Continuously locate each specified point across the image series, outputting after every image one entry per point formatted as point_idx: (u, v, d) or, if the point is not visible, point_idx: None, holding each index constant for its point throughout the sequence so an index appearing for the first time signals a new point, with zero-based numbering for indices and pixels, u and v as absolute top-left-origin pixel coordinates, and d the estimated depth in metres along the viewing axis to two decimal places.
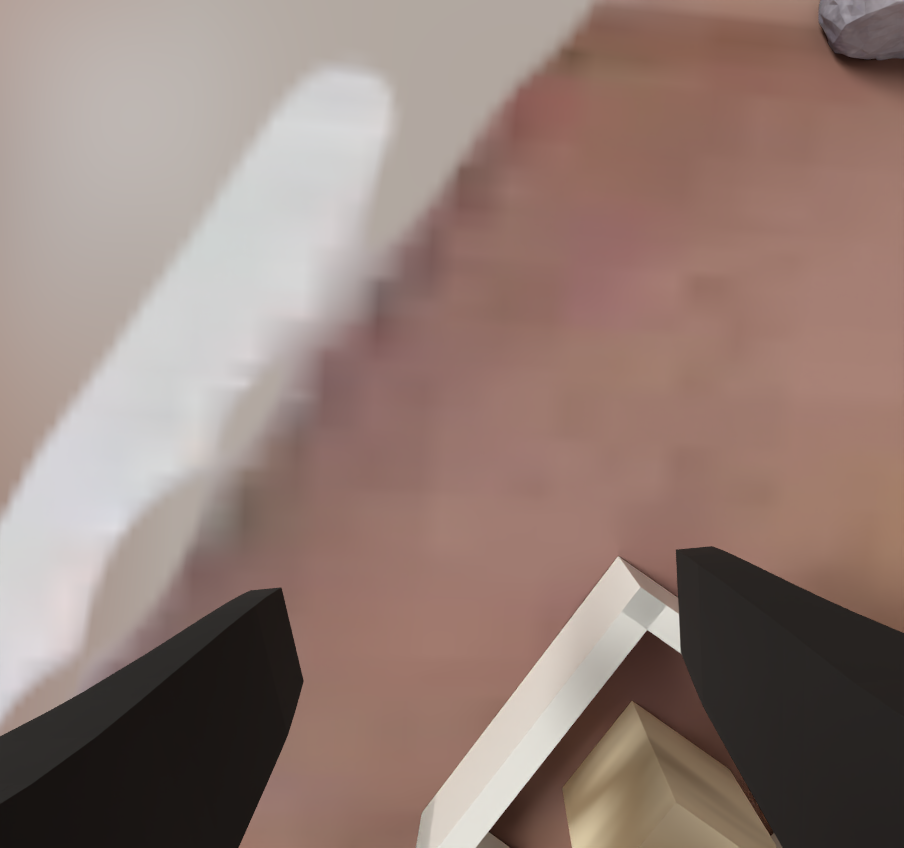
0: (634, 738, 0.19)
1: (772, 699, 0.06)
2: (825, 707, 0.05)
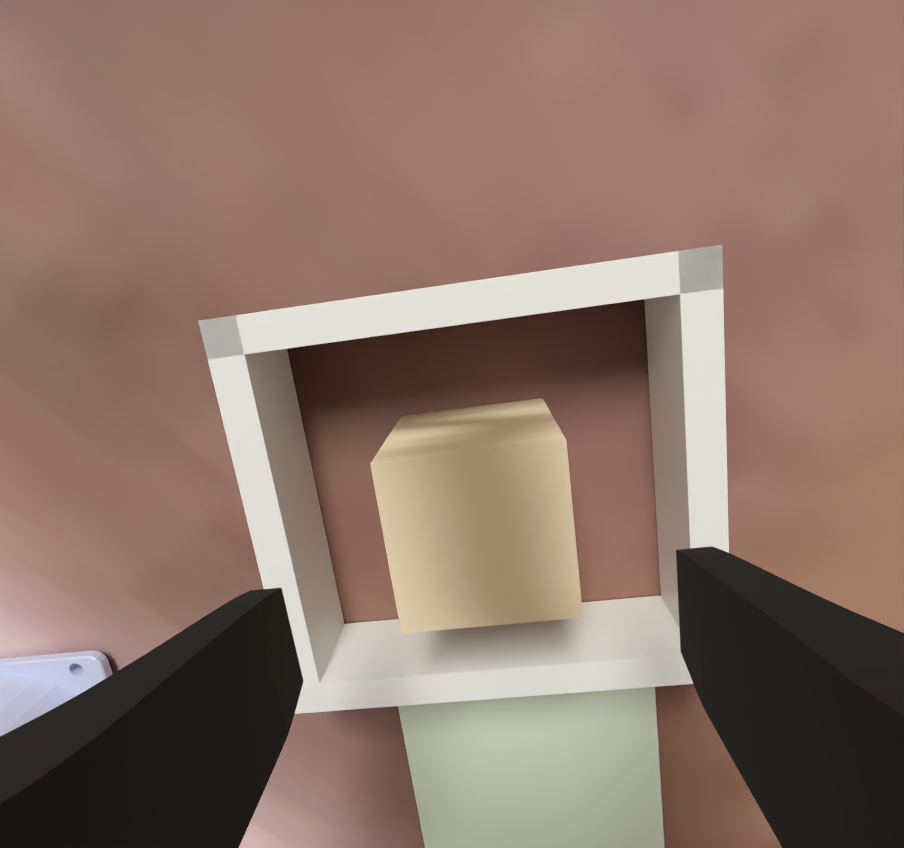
0: (529, 411, 0.15)
1: (772, 700, 0.06)
2: (825, 707, 0.05)
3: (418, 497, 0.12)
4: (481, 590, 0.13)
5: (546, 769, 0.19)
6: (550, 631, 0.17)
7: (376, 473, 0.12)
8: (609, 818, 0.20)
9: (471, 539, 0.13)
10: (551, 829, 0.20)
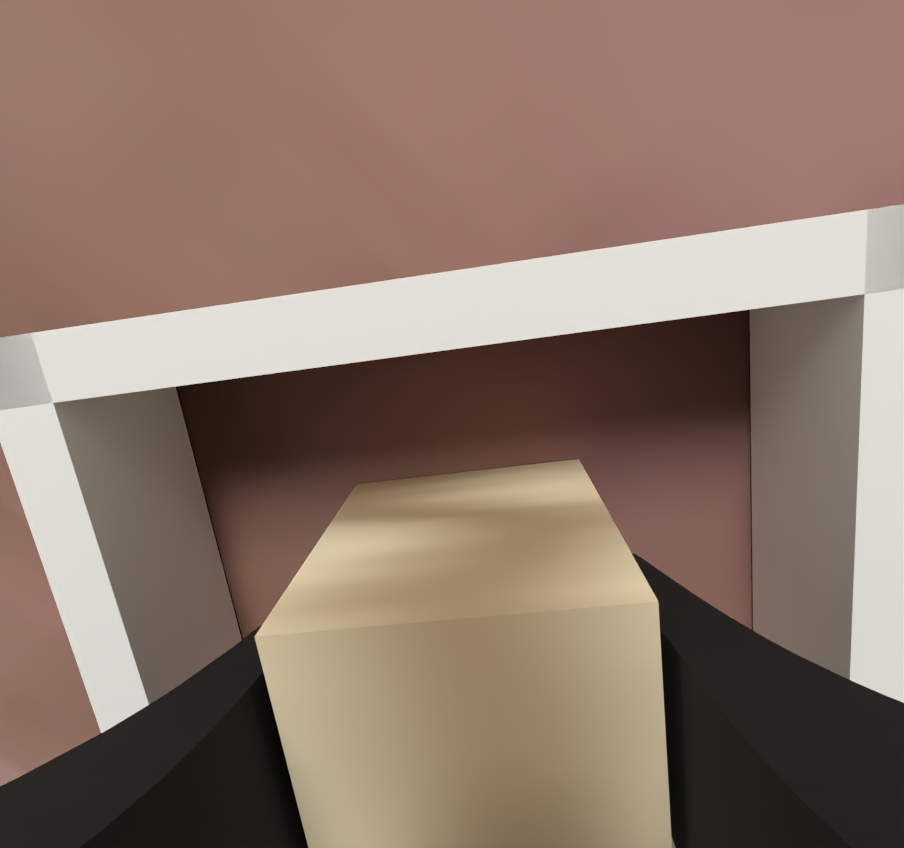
0: (563, 492, 0.09)
1: None
2: (694, 716, 0.06)
3: (353, 700, 0.06)
4: None
5: None
6: None
7: (267, 655, 0.06)
8: None
9: (461, 778, 0.06)
10: None
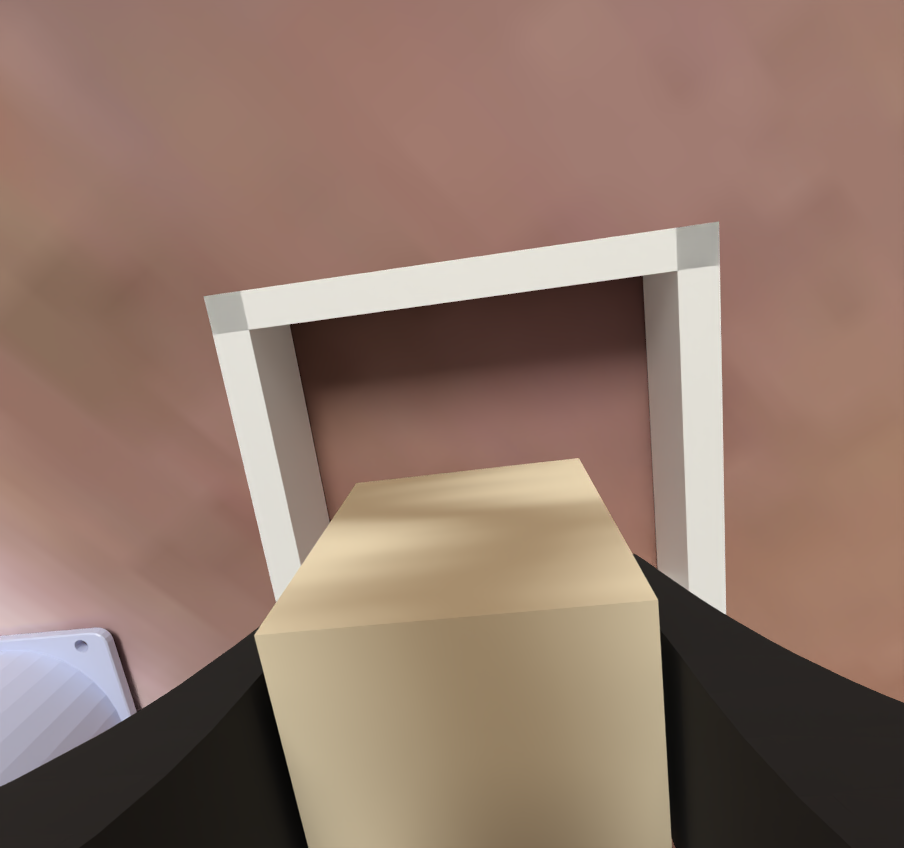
0: (563, 491, 0.09)
1: None
2: (693, 716, 0.06)
3: (353, 698, 0.06)
4: None
5: None
6: None
7: (267, 654, 0.06)
8: None
9: (461, 777, 0.06)
10: None
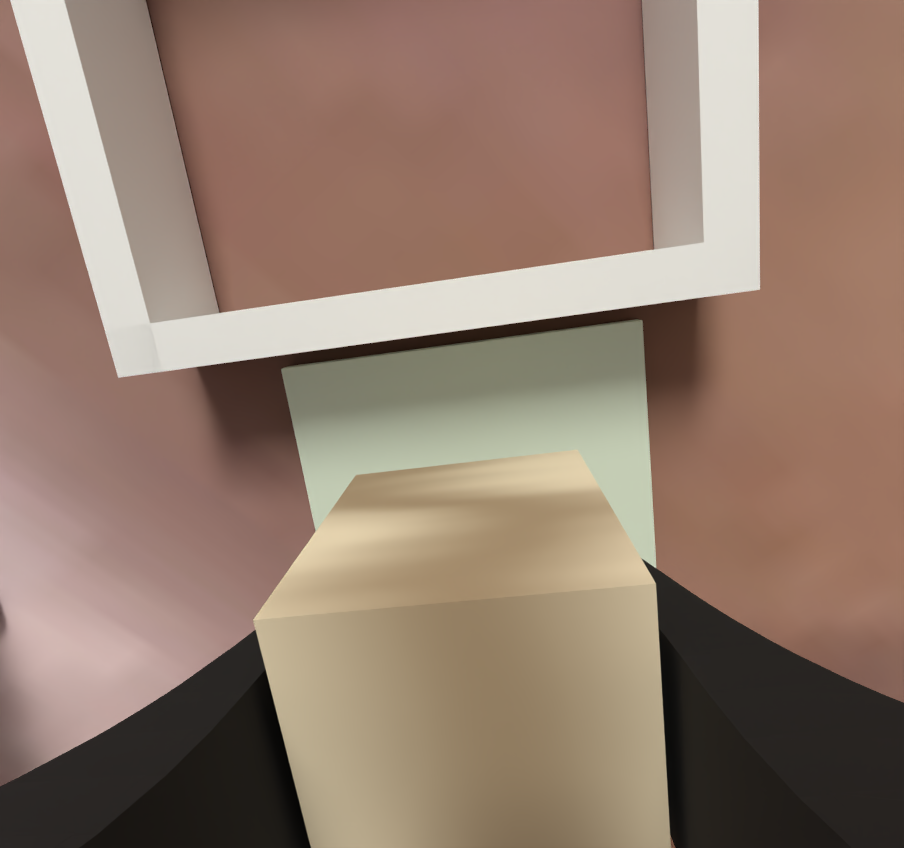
0: (562, 480, 0.09)
1: (663, 707, 0.07)
2: (693, 716, 0.06)
3: (351, 684, 0.06)
4: None
5: None
6: None
7: (266, 639, 0.06)
8: None
9: (459, 761, 0.06)
10: None
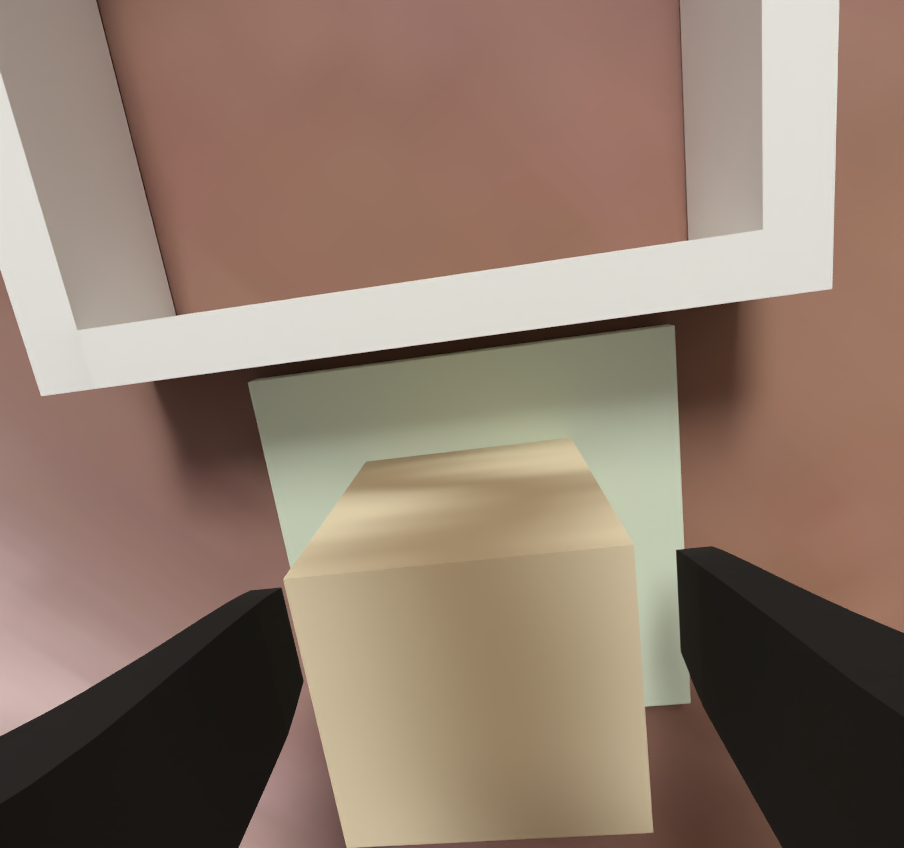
0: (555, 464, 0.10)
1: (772, 698, 0.06)
2: (825, 707, 0.05)
3: (368, 635, 0.07)
4: (480, 786, 0.08)
5: None
6: None
7: (294, 596, 0.07)
8: None
9: (463, 706, 0.07)
10: None
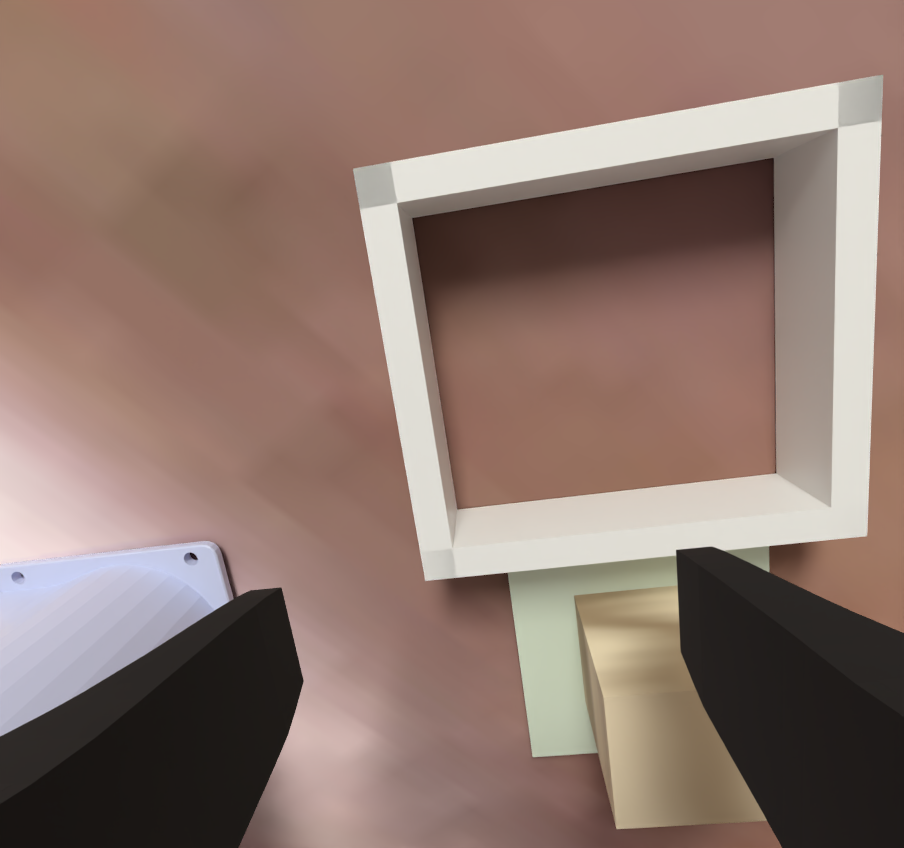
0: None
1: (772, 699, 0.06)
2: (825, 707, 0.05)
3: (643, 724, 0.15)
4: (691, 797, 0.15)
5: None
6: (673, 502, 0.17)
7: (608, 705, 0.14)
8: None
9: (686, 757, 0.15)
10: None
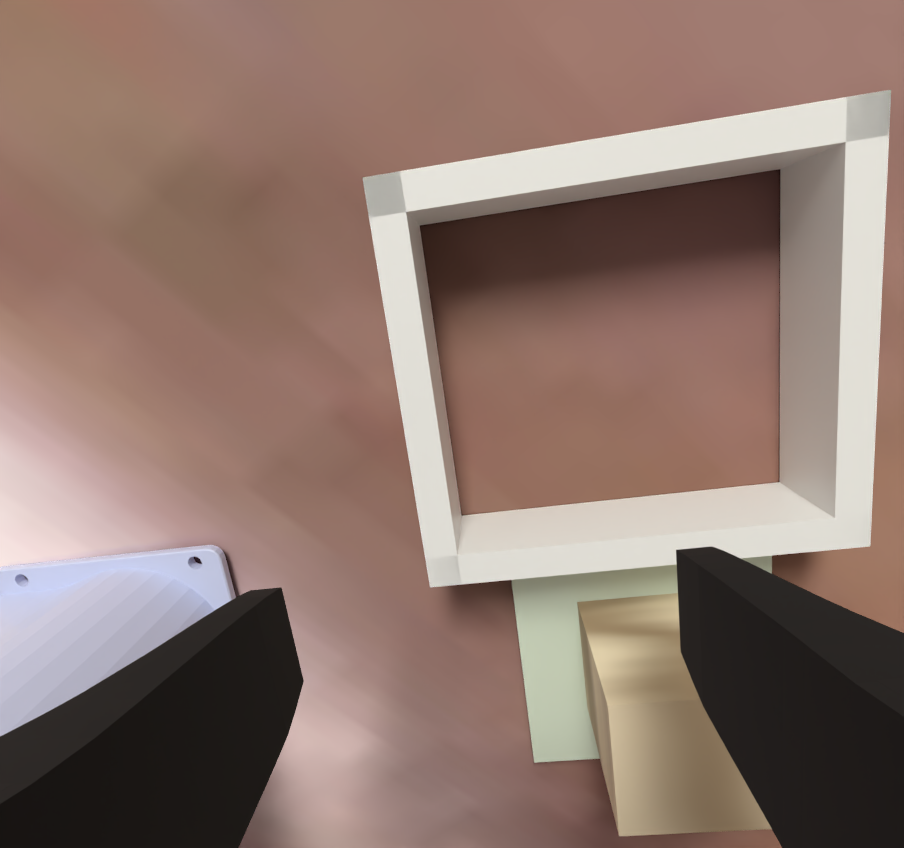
0: None
1: (772, 699, 0.06)
2: (825, 707, 0.05)
3: (646, 732, 0.15)
4: (693, 805, 0.15)
5: None
6: (678, 510, 0.17)
7: (612, 713, 0.15)
8: None
9: (689, 765, 0.15)
10: None
